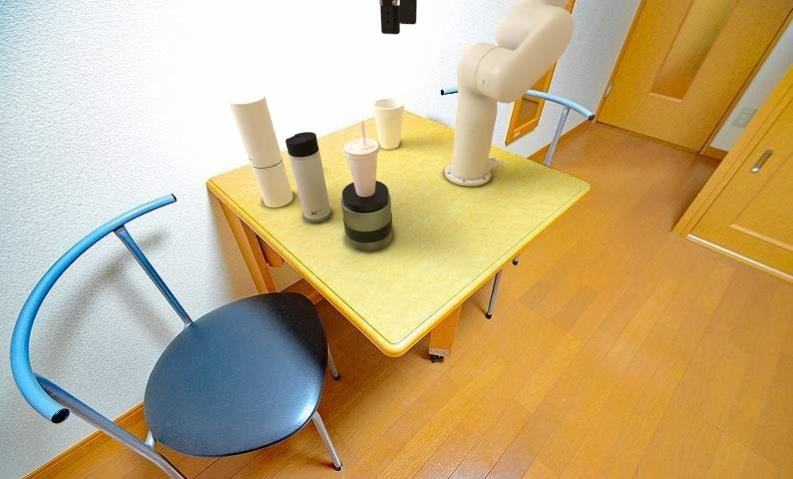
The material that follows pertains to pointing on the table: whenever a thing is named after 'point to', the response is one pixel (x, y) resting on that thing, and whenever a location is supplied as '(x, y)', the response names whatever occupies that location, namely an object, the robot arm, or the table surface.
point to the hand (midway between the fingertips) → (399, 28)
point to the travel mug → (309, 176)
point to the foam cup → (388, 121)
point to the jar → (367, 218)
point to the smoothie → (362, 163)
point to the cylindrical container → (261, 147)
